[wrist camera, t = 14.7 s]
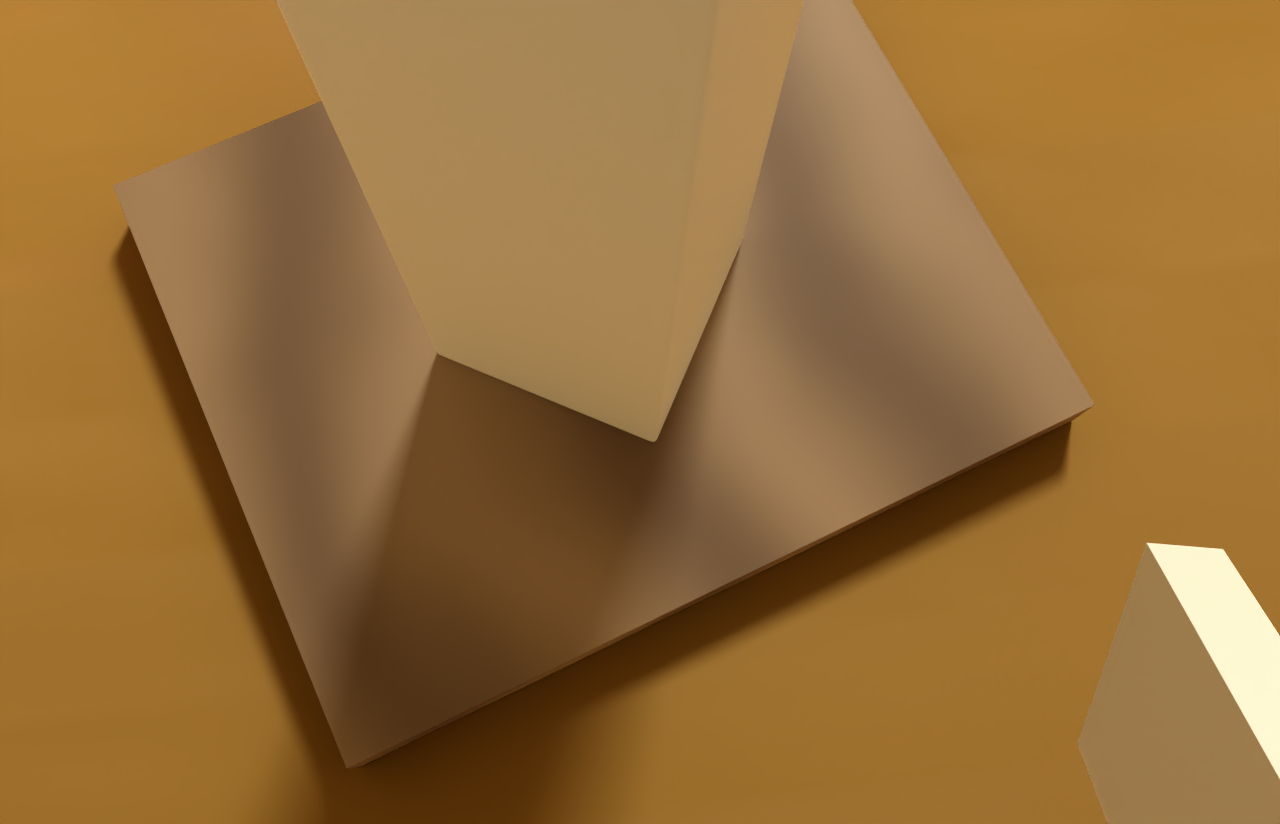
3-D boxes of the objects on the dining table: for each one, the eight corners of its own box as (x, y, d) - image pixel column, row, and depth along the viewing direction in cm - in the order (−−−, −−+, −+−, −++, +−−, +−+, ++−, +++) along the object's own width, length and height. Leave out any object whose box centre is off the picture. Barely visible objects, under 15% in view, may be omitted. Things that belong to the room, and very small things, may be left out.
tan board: (789, -56, 35) (797, -91, 33) (1072, 420, 31) (1095, 404, 30) (135, 210, 32) (113, 185, 31) (360, 766, 28) (346, 768, 27)
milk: (655, 445, 29) (774, -327, 8) (431, 353, 30) (-32, -608, 8) (745, 234, 31) (1050, -896, 9) (531, 150, 31) (354, -1106, 10)
